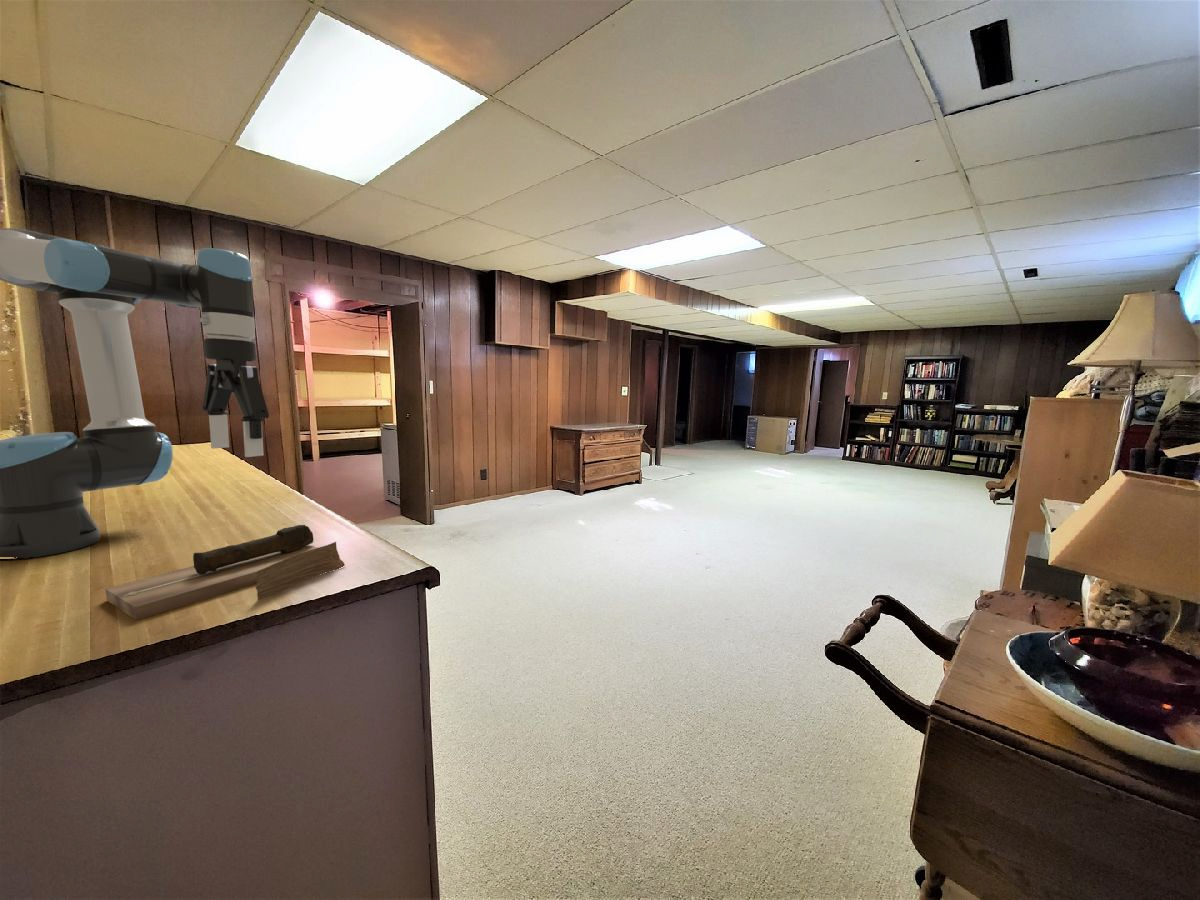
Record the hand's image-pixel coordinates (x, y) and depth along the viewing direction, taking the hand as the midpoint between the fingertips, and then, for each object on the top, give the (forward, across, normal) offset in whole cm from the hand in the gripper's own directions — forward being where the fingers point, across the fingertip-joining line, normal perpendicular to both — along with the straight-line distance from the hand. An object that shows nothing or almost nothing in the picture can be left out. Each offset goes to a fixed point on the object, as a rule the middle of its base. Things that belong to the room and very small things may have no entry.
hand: (236, 451), depth 89 cm
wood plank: (+21, +22, 0) cm, 30 cm away
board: (+21, +9, -6) cm, 24 cm away
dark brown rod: (+19, +9, -1) cm, 21 cm away
